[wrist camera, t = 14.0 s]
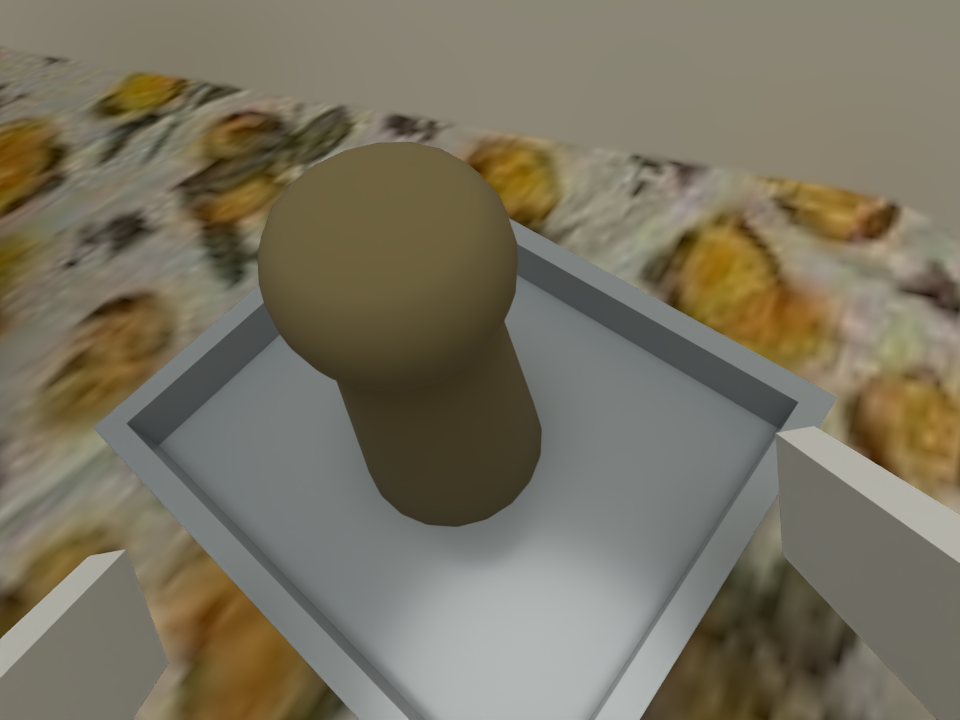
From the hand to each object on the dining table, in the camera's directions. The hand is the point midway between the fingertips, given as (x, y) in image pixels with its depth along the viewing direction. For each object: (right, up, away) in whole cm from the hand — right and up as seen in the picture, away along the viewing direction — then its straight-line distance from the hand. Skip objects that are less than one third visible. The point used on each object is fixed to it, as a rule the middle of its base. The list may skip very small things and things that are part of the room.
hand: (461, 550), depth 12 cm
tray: (0, +1, +9) cm, 9 cm away
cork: (0, +1, +8) cm, 8 cm away
